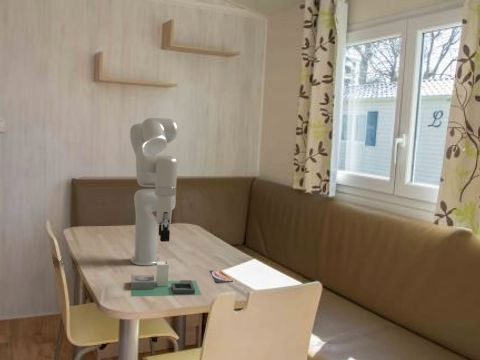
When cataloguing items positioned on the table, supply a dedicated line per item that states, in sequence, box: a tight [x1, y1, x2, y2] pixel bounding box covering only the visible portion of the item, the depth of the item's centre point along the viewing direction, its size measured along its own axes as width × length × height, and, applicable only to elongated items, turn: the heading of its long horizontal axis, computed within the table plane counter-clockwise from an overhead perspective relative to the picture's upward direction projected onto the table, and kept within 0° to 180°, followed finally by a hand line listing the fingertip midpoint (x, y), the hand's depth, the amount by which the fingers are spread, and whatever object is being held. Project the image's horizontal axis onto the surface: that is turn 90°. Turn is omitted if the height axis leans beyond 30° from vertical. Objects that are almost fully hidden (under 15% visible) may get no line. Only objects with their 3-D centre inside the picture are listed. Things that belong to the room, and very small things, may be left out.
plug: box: [155, 261, 170, 286], centre depth 183 cm, size 4×4×8 cm
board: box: [130, 274, 202, 297], centre depth 180 cm, size 16×24×4 cm, turn 102°
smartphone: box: [209, 270, 234, 284], centre depth 200 cm, size 8×1×15 cm
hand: (163, 238), depth 182 cm, fingers open, 9 cm apart
